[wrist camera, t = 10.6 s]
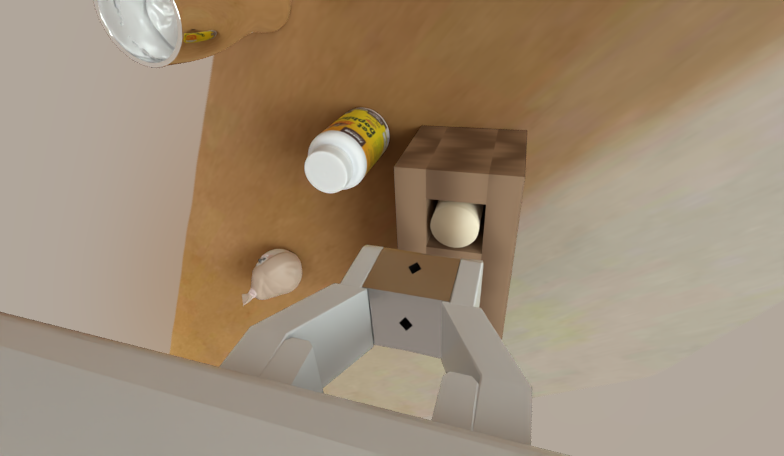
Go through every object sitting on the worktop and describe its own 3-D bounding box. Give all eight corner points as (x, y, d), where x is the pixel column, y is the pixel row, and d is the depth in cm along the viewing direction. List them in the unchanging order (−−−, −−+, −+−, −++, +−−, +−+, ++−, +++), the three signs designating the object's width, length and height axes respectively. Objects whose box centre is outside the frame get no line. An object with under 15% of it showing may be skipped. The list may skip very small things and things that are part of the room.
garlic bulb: (262, 237, 55) (227, 274, 49) (304, 242, 53) (273, 281, 47) (273, 275, 59) (242, 314, 52) (313, 281, 57) (285, 322, 50)
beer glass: (215, -22, 38) (69, -13, 26) (267, -66, 35) (127, -79, 23) (258, 50, 41) (143, 88, 29) (310, 15, 38) (204, 41, 26)
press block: (527, 130, 38) (525, 177, 30) (504, 292, 48) (499, 359, 40) (421, 125, 40) (393, 166, 32) (423, 280, 51) (402, 340, 43)
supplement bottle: (396, 115, 40) (361, 155, 32) (385, 163, 44) (350, 210, 35) (345, 98, 41) (297, 132, 33) (337, 147, 44) (292, 189, 36)
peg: (490, 163, 39) (480, 209, 32) (487, 199, 41) (477, 250, 34) (449, 160, 40) (430, 204, 33) (447, 195, 42) (430, 244, 35)
